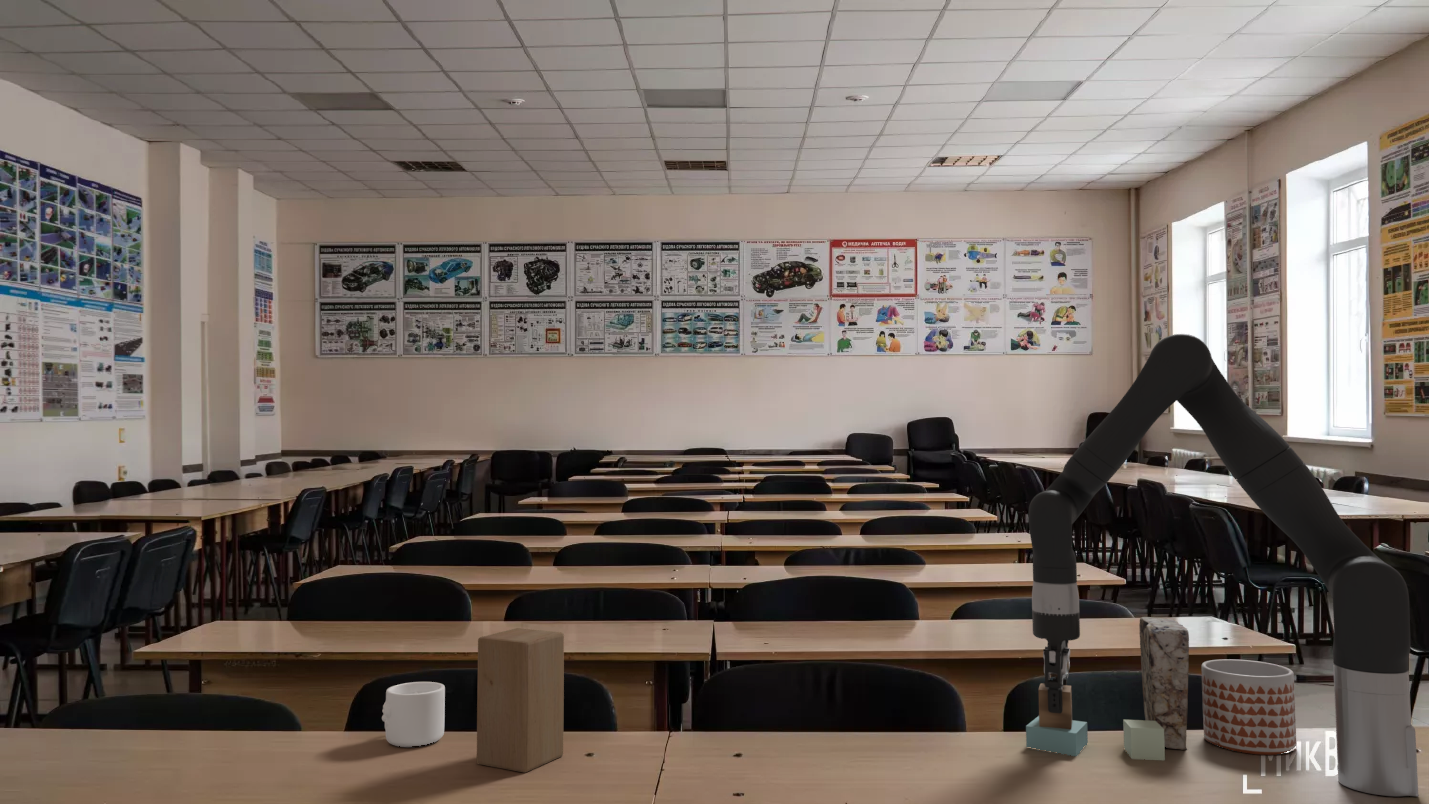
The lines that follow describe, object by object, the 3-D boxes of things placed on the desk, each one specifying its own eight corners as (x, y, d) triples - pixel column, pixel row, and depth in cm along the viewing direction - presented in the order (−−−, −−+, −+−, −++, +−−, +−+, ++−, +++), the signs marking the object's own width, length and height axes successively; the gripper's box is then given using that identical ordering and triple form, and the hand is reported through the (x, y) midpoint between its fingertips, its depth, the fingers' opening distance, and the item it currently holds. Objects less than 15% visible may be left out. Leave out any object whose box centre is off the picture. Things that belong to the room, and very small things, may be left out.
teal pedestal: (1087, 746, 163) (1087, 722, 163) (1076, 758, 156) (1075, 733, 156) (1039, 738, 167) (1039, 715, 167) (1026, 750, 161) (1026, 726, 161)
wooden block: (475, 764, 153) (476, 637, 154) (516, 748, 162) (517, 627, 163) (525, 773, 148) (526, 642, 150) (564, 756, 157) (565, 632, 159)
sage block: (1156, 751, 159) (1155, 720, 159) (1165, 760, 154) (1164, 729, 154) (1124, 750, 160) (1123, 719, 160) (1131, 759, 155) (1130, 727, 155)
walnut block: (1072, 721, 163) (1071, 685, 164) (1071, 729, 159) (1070, 692, 159) (1041, 718, 165) (1040, 683, 166) (1039, 726, 161) (1038, 689, 161)
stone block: (1199, 751, 158) (1194, 628, 160) (1153, 749, 160) (1149, 627, 161) (1174, 729, 171) (1170, 615, 173) (1132, 727, 173) (1129, 614, 174)
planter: (1189, 732, 170) (1187, 658, 171) (1269, 732, 169) (1266, 659, 170) (1227, 755, 156) (1225, 676, 157) (1314, 756, 156) (1311, 676, 156)
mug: (382, 733, 171) (383, 681, 172) (442, 728, 174) (443, 677, 175) (380, 752, 160) (381, 696, 160) (445, 746, 163) (445, 692, 163)
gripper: (1075, 616, 155) (1078, 719, 154) (1082, 604, 168) (1085, 699, 167) (1026, 613, 158) (1029, 714, 157) (1037, 601, 171) (1039, 695, 170)
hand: (1058, 706), depth 162 cm, fingers open, 8 cm apart
